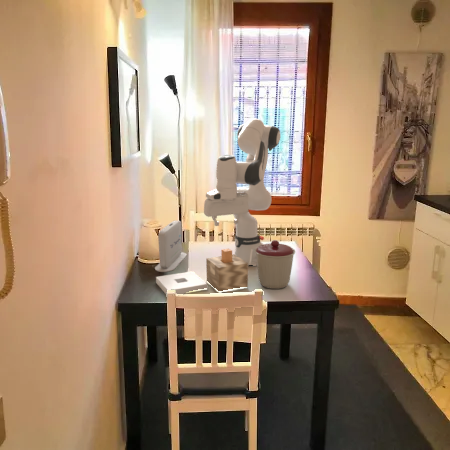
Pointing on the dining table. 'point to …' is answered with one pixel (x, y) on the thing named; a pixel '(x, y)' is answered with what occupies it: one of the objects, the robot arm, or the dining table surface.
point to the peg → (226, 255)
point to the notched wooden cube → (227, 273)
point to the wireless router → (170, 247)
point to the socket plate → (181, 282)
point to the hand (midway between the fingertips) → (226, 224)
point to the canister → (274, 264)
